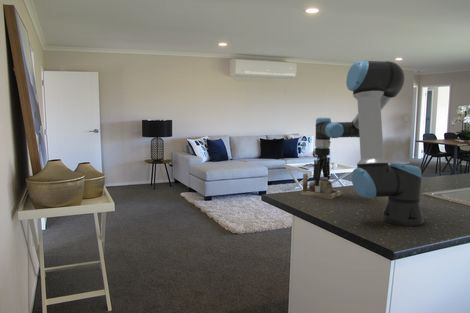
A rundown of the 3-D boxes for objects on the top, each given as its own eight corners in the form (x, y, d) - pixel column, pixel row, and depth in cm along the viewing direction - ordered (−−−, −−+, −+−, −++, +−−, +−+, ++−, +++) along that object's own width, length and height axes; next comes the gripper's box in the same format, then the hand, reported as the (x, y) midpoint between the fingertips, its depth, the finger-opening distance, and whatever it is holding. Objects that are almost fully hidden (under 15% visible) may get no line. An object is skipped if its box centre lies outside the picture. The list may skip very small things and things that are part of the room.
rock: (337, 193, 196) (331, 175, 196) (331, 197, 192) (325, 178, 192) (318, 196, 205) (312, 179, 205) (312, 200, 200) (306, 182, 200)
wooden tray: (330, 199, 189) (331, 177, 187) (300, 194, 199) (300, 174, 198) (341, 194, 199) (342, 174, 197) (312, 190, 209) (312, 170, 208)
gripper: (320, 149, 186) (318, 195, 189) (337, 146, 201) (336, 188, 204) (306, 148, 190) (305, 193, 193) (324, 145, 206) (323, 186, 209)
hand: (321, 190), depth 199 cm, fingers open, 7 cm apart
